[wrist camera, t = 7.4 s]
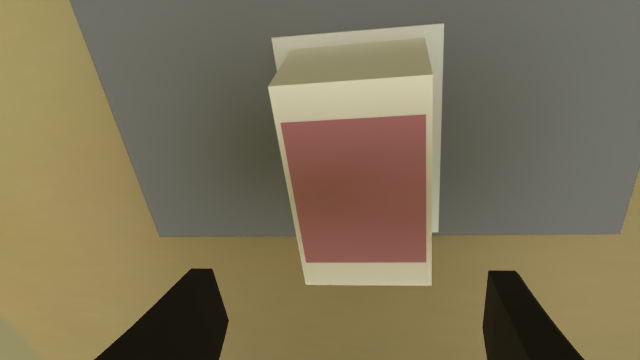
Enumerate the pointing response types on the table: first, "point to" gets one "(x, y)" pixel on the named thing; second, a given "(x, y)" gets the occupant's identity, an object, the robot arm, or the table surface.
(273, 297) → the table surface
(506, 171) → the mat
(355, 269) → the card deck
